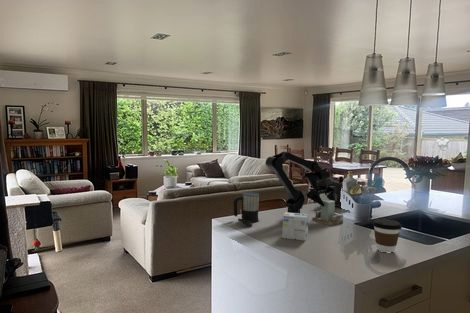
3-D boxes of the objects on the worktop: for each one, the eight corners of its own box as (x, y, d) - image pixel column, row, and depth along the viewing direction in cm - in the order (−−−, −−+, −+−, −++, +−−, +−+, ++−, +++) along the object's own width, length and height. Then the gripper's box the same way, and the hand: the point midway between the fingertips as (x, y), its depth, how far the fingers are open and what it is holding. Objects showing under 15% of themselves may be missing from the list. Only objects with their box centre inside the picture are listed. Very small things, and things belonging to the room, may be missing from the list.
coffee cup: (386, 257, 129) (388, 227, 128) (365, 248, 139) (366, 220, 138) (406, 253, 134) (408, 224, 133) (384, 244, 144) (385, 217, 143)
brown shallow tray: (330, 225, 171) (330, 217, 171) (312, 219, 182) (312, 212, 181) (342, 222, 177) (343, 214, 177) (324, 217, 187) (324, 209, 187)
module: (327, 220, 176) (328, 202, 175) (320, 218, 180) (321, 200, 179) (334, 219, 179) (334, 201, 178) (326, 217, 183) (327, 199, 182)
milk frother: (254, 217, 185) (255, 191, 183) (267, 225, 170) (267, 197, 169) (230, 220, 180) (230, 193, 178) (241, 228, 165) (241, 198, 164)
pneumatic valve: (333, 211, 202) (334, 191, 201) (316, 208, 209) (316, 189, 208) (337, 209, 206) (338, 190, 205) (319, 206, 213) (320, 187, 212)
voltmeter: (359, 206, 215) (360, 175, 214) (341, 209, 207) (342, 177, 205) (340, 201, 229) (341, 172, 228) (322, 203, 221) (323, 174, 219)
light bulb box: (307, 236, 153) (308, 213, 152) (305, 241, 147) (306, 217, 146) (284, 234, 157) (285, 211, 156) (281, 238, 150) (282, 215, 149)
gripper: (311, 174, 175) (326, 198, 167) (334, 171, 186) (350, 194, 177) (299, 186, 183) (314, 210, 174) (323, 183, 193) (337, 206, 185)
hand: (329, 205), depth 177 cm, fingers open, 9 cm apart
